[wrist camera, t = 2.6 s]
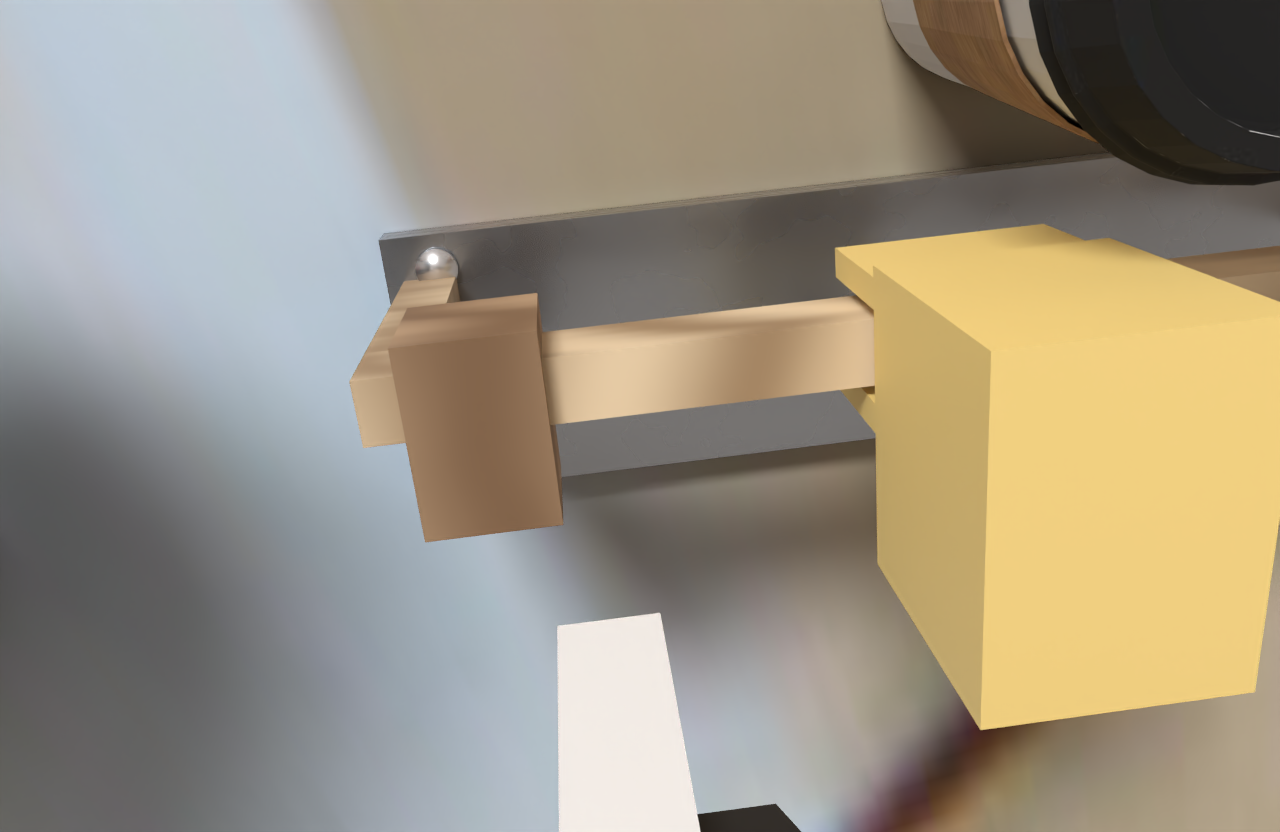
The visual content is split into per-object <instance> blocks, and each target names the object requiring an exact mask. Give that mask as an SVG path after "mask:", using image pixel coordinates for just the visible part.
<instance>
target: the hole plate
mask: <svg viewBox="0 0 1280 832" xmlns="http://www.w3.org/2000/svg"><path fill="white" fill-rule="evenodd" d="M1038 224H1045V225H1048V226H1050V227H1053V228H1055V229H1058V230H1060V231H1063V232H1065V233H1068V234H1070V235H1073V236H1075V237H1078V238H1080V239H1083V240H1085V241H1086V240H1095V239H1103V238H1111V239H1114V240H1117V241H1119V242H1122V243H1124V244H1127V245H1130V246H1132V247H1135V248H1138V249H1140V250H1143V251H1146V252H1148V253H1151V254H1154V255H1156V256H1159V257H1162V258H1164V259H1170V258H1178V257H1187V256H1195V255H1204V254H1212V253H1221V252H1229V251H1238V250H1246V249H1255V248H1263V247H1272V246H1280V181H1275V182H1270V183H1264V184H1259V185H1253V186H1250V185H1191V184H1187V183H1183V182H1178V181H1174V180H1170V179H1166V178H1162V177H1158V176H1153V175H1150V174H1148V173H1146V172H1144V171H1142V170H1140V169H1138V168H1136V167H1134V166H1132V165H1130V164H1128V163H1126V162H1124V161H1122V160H1120V159H1119V158H1117V157H1115V156H1113V155H1112V154H1111V153H1110V152H1108V153H1099V154H1090V155H1081V156H1072V157H1063V158H1054V159H1045V160H1036V161H1027V162H1018V163H1010V164H1001V165H992V166H983V167H974V168H965V169H956V170H947V171H938V172H929V173H920V174H912V175H903V176H894V177H885V178H876V179H867V180H858V181H849V182H840V183H831V184H822V185H814V186H805V187H796V188H787V189H778V190H769V191H760V192H751V193H742V194H733V195H724V196H715V197H707V198H698V199H689V200H680V201H671V202H662V203H653V204H644V205H635V206H626V207H617V208H609V209H600V210H591V211H582V212H573V213H564V214H555V215H546V216H537V217H528V218H519V219H511V220H502V221H493V222H484V223H475V224H466V225H457V226H448V227H439V228H430V229H421V230H413V231H404V232H395V233H386V234H383V235H382V237H381V238H380V239H379V245H380V250H381V256H382V261H383V266H384V272H385V277H386V282H387V287H388V293H389V298H390V303H391V304H392V303H393V301H394V299H395V297H396V295H397V293H398V292H399V290H400V288H401V286H402V284H403V282H404V281H411V280H419V281H424V280H433V279H441V278H450V277H456V278H457V284H458V290H459V296H460V302H463V301H471V300H480V299H489V298H497V297H506V296H514V295H523V294H532V293H538V300H539V308H540V315H541V323H542V330H543V332H549V331H557V330H566V329H574V328H583V327H591V326H600V325H608V324H617V323H625V322H634V321H642V320H651V319H659V318H668V317H676V316H685V315H693V314H702V313H710V312H719V311H727V310H736V309H744V308H753V307H761V306H770V305H778V304H787V303H795V302H804V301H812V300H821V299H829V298H838V297H846V296H855V295H856V294H855V293H854V292H852V291H851V290H850V289H849V288H848V287H847V286H845V285H844V284H843V283H842V282H841V281H840V280H839V279H837V278H836V267H835V248H838V247H847V246H855V245H864V244H873V243H881V242H890V241H899V240H907V239H916V238H925V237H934V236H942V235H951V234H960V233H968V232H977V231H986V230H994V229H1003V228H1012V227H1020V226H1029V225H1038ZM555 426H556V433H557V440H558V448H559V455H560V462H561V477H567V476H575V475H583V474H591V473H599V472H607V471H615V470H623V469H631V468H639V467H648V466H656V465H664V464H672V463H680V462H688V461H696V460H704V459H712V458H720V457H728V456H736V455H744V454H752V453H760V452H768V451H776V450H784V449H792V448H800V447H809V446H817V445H825V444H833V443H841V442H849V441H857V440H865V439H873V438H876V433H875V432H874V431H873V430H872V429H871V427H870V426H869V425H868V424H867V422H866V421H865V420H864V419H863V417H862V416H861V415H860V414H859V413H858V411H857V410H856V409H855V408H854V406H853V405H852V404H851V403H850V401H849V400H848V399H847V398H846V397H845V395H844V394H843V393H842V392H841V390H835V391H827V392H819V393H810V394H802V395H794V396H786V397H777V398H769V399H761V400H753V401H745V402H736V403H728V404H720V405H712V406H704V407H695V408H687V409H679V410H671V411H663V412H654V413H646V414H638V415H630V416H621V417H613V418H605V419H597V420H589V421H580V422H572V423H564V424H556V425H555Z"/></svg>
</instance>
